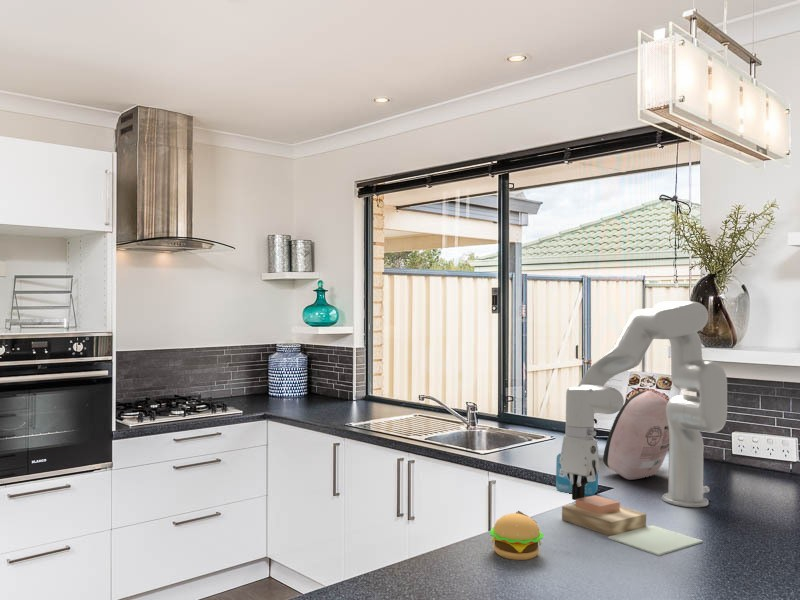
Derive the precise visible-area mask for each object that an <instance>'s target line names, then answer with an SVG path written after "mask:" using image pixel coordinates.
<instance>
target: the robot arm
mask: <svg viewBox="0 0 800 600" xmlns="http://www.w3.org/2000/svg"><path fill="white" fill-rule="evenodd" d="M708 321H709V312H708V309H707V308H706V306H705V305H703V304H702V303H701V302H698V301H663V302H658V303H657V304H655V305H654V306H653V308H641V309H637V310H635V311H633V313H632V314H630V316H629V318H628V320H627V321H626V324H625V325H624V327H623V329H622V331H621V333H620V334H619V336H618V338H617V339H616V341H615V343H614V344H613V346H612V347H611V349H610V350H609V351H608V352H606V353H605V354H604V355H603V356H602V357H600V358H599V359H598V360H597V361H595V362H593V364H592V365H591V366H590V367H589V368H588V369H587V371H586V372H585V373H584V375H583V376H582V378H581V380H580V382H579V384H578V386H569V387H568V388H567V389H566V393H565V431H564V432H565V434H564V435H563V439H562V443H561V451H560V453H561V468H562V469H563V470H562V473H563V474H564V475H566V476H568V478H569V479H570V484H571V485H572V494H571V500H573V501H576V499H579V498H584V497H585V496H586V495H585V485H587V483H588V482H592V481H596V478H595V475H598V476H599V473H600V458H599V449H598V448H599V447H598V442H597V439H596V438H594V437H595V436H597V431H596V430H595V429H594V428H595V414H603V415H614V414H617V413H619V411H620V410H621V408H622V407H623V405H624V404H625V402H624V396H623V394H622V393H621V392H620V391H619V390H618V389H616V388H614V387H611V386H606V384H607V382H608V381H610V380H611V379H612V378H614V376H617V375H619V374H621V373H625V372H627V371H630V370H632V369H634V368H636V367H638V366H639V365H640V364H641V363H642V360H643V359H644V357H645V355H646V353H647V351H648V349H649V347H650V346H651V344H652V342H653V340H668V341H669V343H670V362H671V363H670V367H671V368H670V371H671V372H670V373H671V375H670V376H671V383H672V385H673V386H674V387H675V388H676V389H679V390H681V391H684V392H690V393H691V392H692V393H699V396H697V395H688V394H679V395H678V394H677V395H675V396H673V397H671V398H670V399H669V400H668V401H667V406H666V416H667V421H668V427H669V448H668V482H667V483H668V488H667V490H668V491H667V492H666V493H663V495H662V500H663V501H664V502H666V503H668V504H671V505H674V506H675V505H676V506H679V507H686V508H703V507H707V506H708V505H709V499H707V498H706V497H704V494H706V493H709V492H710V487H709V486H708V485H704V450H705V448H704V447H705V446H704V445H705V444H704V439H703V435H702V433H701V432H706V433H718V432H720V431H721V430H722V429H723V428H724V427H725V425H726V423H727V418H728V378H727V375H726V371H725V369H724V368H723V367H722V365H720V364H719V363H717V361H711V360H704V359H703V350H702V341H701V338H700V337H701V336H700V335H699V333H698V332H699V331H701V330H702V329H704V328H705V327H706V325H707V323H708Z"/></svg>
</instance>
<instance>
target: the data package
mask: <svg viewBox="0 0 800 600" xmlns="http://www.w3.org/2000/svg"><path fill="white" fill-rule="evenodd" d="M555 466H556V468H555V477H556V478H555V488H556V490H557V491H558V492H559V493H564V494H565V493H566V494H571V495H572V485H571V484H570V479H569V478H568V476H566V475H564V474H563V473H562V470H563V469H562V468H561V452H559V453H558V454H557V456H556V465H555ZM595 478H596V481H592V482H588V483H587V485H585V495H584V496H585V497H589V496H594V495H596V493H597V492H598V488H599V474H598V475H595Z"/></svg>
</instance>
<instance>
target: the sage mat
mask: <svg viewBox="0 0 800 600" xmlns="http://www.w3.org/2000/svg"><path fill="white" fill-rule="evenodd" d="M607 538H608V539H609V540H612V541H615V542H617V543H620V544H624V545H626V546H629V547H632V548H636V549H638V550H641V551H643V552H647V553H650V554H652V555H656V556H658V557H659V556H661V555H666V554H669V553H671V552H675V551H678V550H681V549H682V550H683V549H684V548H689V547H691V546H694V545H695V546H696V545H698V544H701V543H703V542H704V541H703V539H699V538H697V537H696V538H695V537H692V536H689V535H686V534H683V533H679V532H676V531H673V530H669V529H667V528H664V527H660V526H658V525H657V526H656V525H654V524H652V525H648V526H647V525H646V527H644V528H640V529H636V530H632V531H628V532H624V533H621V534H617V535H613V536H609V535H608V537H607Z"/></svg>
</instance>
